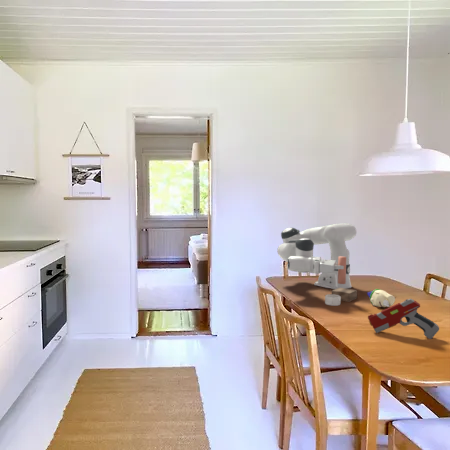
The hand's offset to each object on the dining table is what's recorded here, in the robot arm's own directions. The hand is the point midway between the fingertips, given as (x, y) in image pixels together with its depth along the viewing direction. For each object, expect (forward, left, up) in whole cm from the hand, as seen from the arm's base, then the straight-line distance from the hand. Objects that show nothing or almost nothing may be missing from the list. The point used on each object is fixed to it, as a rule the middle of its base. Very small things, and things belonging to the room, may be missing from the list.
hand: (343, 266), depth 219 cm
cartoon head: (+18, +3, -19) cm, 26 cm away
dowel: (-1, 0, -9) cm, 9 cm away
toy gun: (+41, -35, -19) cm, 57 cm away
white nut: (-1, -10, -19) cm, 21 cm away
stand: (-1, +4, -19) cm, 19 cm away
